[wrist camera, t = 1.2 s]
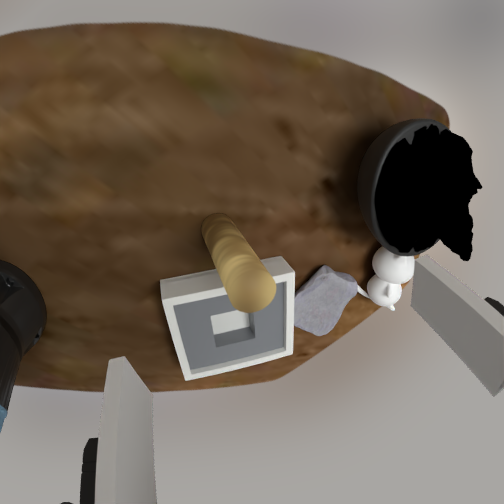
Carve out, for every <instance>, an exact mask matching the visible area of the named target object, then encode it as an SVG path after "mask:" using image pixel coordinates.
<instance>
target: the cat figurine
mask: <svg viewBox="0 0 504 504" xmlns="http://www.w3.org/2000/svg"><path fill="white" fill-rule="evenodd" d="M414 263H415V260H414V257H413V256H399V255H396V254H393V253H391V252H389V251H388V250H387V249H386V248H384V247H383V246H382V247H380V248H379V249H378V250H377V251H376V253H375V254H374V256H373V260H372V266H373V269H374V271H375V273H376V274H375V275H374V276H373V277H372V278H371V279H370V280H369V281H368V284H367V291H368V294H369V295H368V294H367V293H366V292H365V291H364V290H363V289H362V288H360V287H359V286H358V292H359V293H360V294H362V295H363V296H365V297H367V298H370V299H371V300H372V301H373V302H374V303H376V304H377V305H380V306H386V307H387V308H389V309H390V310H392V311H394V310H395V308H394V305H393V304H394V303H396V302H397V301H398V300H399V299H400V297H401V293H402V289H401V284H402V283H405V282H407V281H408V280H410V279H411V278H412V276H413V274H414Z"/></svg>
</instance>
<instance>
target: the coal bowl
mask: <svg viewBox="0 0 504 504" xmlns="http://www.w3.org/2000/svg"><path fill="white" fill-rule="evenodd" d="M472 152H473V151H472V149H471V148H470V146H469V144H468V143H467V142H466V140H465V139H464V138H463V137H461V136H458V135H456V134H454V133H452V132H451V131H450V130H449V129H448V128H447V127H446V126H445V125H443V124H441V123H440V122H438V121H435V120H432V119H411V120H407V121H403V122H400V123H398V124H395V125H393V126H391V127H390V128H388V129H386V130H385V131H384V132H382V133H381V134H380V135H379V136H378V137H377V138H376V139H375V140H374V141H373V142H372V144H371V145H370V146H369V148H368V150H367V151H366V153H365V155H364V157H363V160H362V162H361V165H360V169H359V173H358V181H357V194H358V201H359V206H360V210H361V213H362V216H363V218H364V221H365V223H366V225H367V226H368V228H369V230H370V232H371V233H372V234H373V236H374V237H375V238H376V240H377V241H378V242H379V243H380V244H381V245H382V246H383V247H384V248H386V249H387V250H388V251H389V252H391V253H393V254H396V255H399V256H414V255H418V254H420V253H422V252H424V251H426V250H428V249H429V248H431V247H432V246H434V244H436V243H437V242H438V241H439V240H441V241H442V242H443V244H444V245H446V246H447V247H448V248H450V249H451V251H452V252H454V253H456V254H458V255H459V256H460V258H461V259H462V260H463V261H469V259H470V257H471V252H472V244H471V242H472V238H473V233H472V228H473V219H472V217H471V215H470V214H469V208H468V204H469V202H470V199H471V198H472V196H473V195H474V194H476V193H477V189H481V188H482V186H481V184H480V182H479V180H478V179H477V178H476V177H475V175H474V173H473V167H472V159H471V156H472Z"/></svg>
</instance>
